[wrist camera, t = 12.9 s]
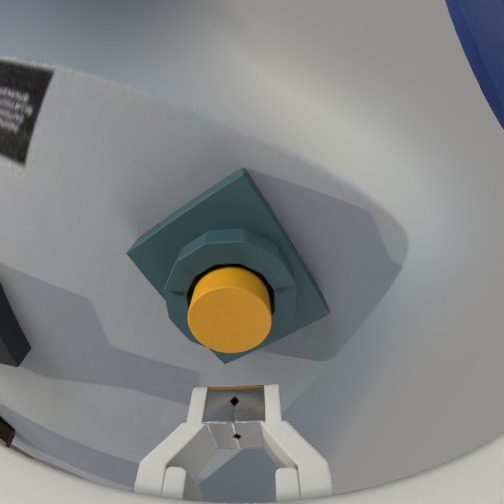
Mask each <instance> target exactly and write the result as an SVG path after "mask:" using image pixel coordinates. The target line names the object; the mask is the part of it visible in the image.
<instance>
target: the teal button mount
mask: <svg viewBox="0 0 504 504" xmlns="http://www.w3.org/2000/svg"><path fill="white" fill-rule="evenodd" d="M127 255H128V256H129V257H130V258H131V260H132V261H133V262H134V263H135V265H136V266H137V267H138V268H139V270H140V271H141V272H142V273H143V274H144V276H145V277H146V278H147V279H148V280H149V282H150V283H151V284H152V285H153V286H154V288H155V289H156V290H157V291H158V292H159V294H160V295H161V296H162V297H163V298H164V299H165V300H166V305H167V309H168V314H169V318H170V320H171V321H172V322H173V323H174V324H175V325H176V326H177V327H178V328H179V329H180V330H181V332H182V333H183V334H184V335H185V336H186V337H187V338H188V339H189V340H191V341H192V342H195V343H197V344H200V345H202V346H204V345H203V344H202V343H200V342H199V341H198V340H197V339H196V338H195V337H194V335H193V334H192V332H191V330H190V328H189V325H188V311H189V307H190V303H191V300H192V296H193V292H194V289H195V286H196V284H197V283H198V281H199V280H200V279H201V278H202V277H203V276H204V275H205V274H207V273H208V272H210V271H212V270H214V269H217V268H221V267H239V268H243V269H246V270H248V271H250V272H252V273H254V274H255V275H257V276H258V277H259V278H260V279H261V280H262V281H263V283H264V284H265V286H266V288H267V290H268V294H269V301H270V308H271V315H272V325H271V329H270V331H269V333H268V335H267V337H266V338H265V339H264V340H263V341H262V342H261V343H260V344H259V345H257V346H256V347H254V348H252V349H250V350H247V351H244V352H239V353H224V352H219V351H215V350H212V349H210V348H209V349H210V350H211V351H212V352H213V353H214V354H215V355H216V356H217V357H218V358H219V359H220V360H221V361H222V362H223V363H224V364H226V363H228V362H231V361H233V360H235V359H237V358H240V357H242V356H244V355H246V354H248V353H251V352H253V351H255V350H257V349H259V348H261V347H263V346H266V345H268V344H270V343H272V342H274V341H276V340H278V339H280V338H282V337H284V336H286V335H288V334H290V333H292V332H294V331H296V330H298V329H300V328H302V327H304V326H306V325H308V324H310V323H312V322H314V321H316V320H318V319H319V318H321V317H323V316H325V315H327V314H329V313H330V311H329V309H328V306H327V304H326V302H325V299H324V297H323V294H322V293H321V291H320V289H319V288H318V286H317V284H316V283H315V281H314V279H313V278H312V276H311V274H310V272H309V271H308V269H307V267H306V266H305V264H304V262H303V261H302V259H301V257H300V256H299V254H298V253H297V251H296V249H295V248H294V246H293V244H292V243H291V241H290V239H289V238H288V236H287V235H286V233H285V231H284V230H283V228H282V226H281V225H280V223H279V222H278V220H277V218H276V217H275V215H274V214H273V212H272V210H271V209H270V207H269V206H268V204H267V203H266V201H265V199H264V198H263V196H262V195H261V193H260V192H259V190H258V188H257V187H256V185H255V184H254V182H253V181H252V179H251V178H250V176H249V174H248V173H247V171H246V170H245V168H242V169H240V170H239V171H237V172H235V173H234V174H232V175H231V176H229V177H227V178H226V179H224V180H223V181H221V182H220V183H218V184H217V185H215V186H213V187H212V188H210V189H209V190H207V191H206V192H204V193H203V194H201V195H200V196H198V197H197V198H195V199H194V200H192V201H191V202H189V203H188V204H186V205H185V206H183V207H182V208H180V209H179V210H178V211H176V212H175V213H173V214H172V215H170V216H169V217H168V218H166V219H165V220H163V221H162V222H160V223H159V224H158V225H156V226H155V227H153V228H152V229H151V230H149V231H148V232H146V233H145V234H144V235H142V236H141V237H140V238H138V239H137V241H136V242H135V243H134V244H133V245H132V246H131V248H130V249H129V250H128V251H127ZM205 347H206V346H205ZM207 348H208V347H207Z"/></svg>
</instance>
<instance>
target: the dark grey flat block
mask: <svg viewBox="0 0 504 504" xmlns="http://www.w3.org/2000/svg"><path fill="white" fill-rule="evenodd" d="M30 349H31V347H30V345H29V343H28V342H27V340H26V338H25V336H24V334H23V332H22V330H21V328H20V326H19V324H18V322H17V320H16V318H15V316H14V314H13V312H12V310H11V307H10V305H9V303H8V301H7V298H6V296H5V294H4V291H3V289H2V286H1V284H0V363H2V364H6V365H10V366H15V367H19V365H20V364H21V362H22V361H23V359H24V358H25V356H26V355H27V354H28V352H29V351H30Z"/></svg>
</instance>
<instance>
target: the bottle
mask: <svg viewBox="0 0 504 504" xmlns="http://www.w3.org/2000/svg"><path fill="white" fill-rule="evenodd" d="M14 435H15V430H14V429H13V428H12V427H10V426H9V425H8V424H7V423H6V422H5V421H4V420H3V419H1V418H0V444H2V445H4V446H6V447H8V448H9V447H10V445H11V443H12V440H13V438H14Z"/></svg>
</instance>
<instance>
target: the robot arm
mask: <svg viewBox="0 0 504 504" xmlns="http://www.w3.org/2000/svg"><path fill="white" fill-rule="evenodd" d="M234 448H264V450H265V451H266V452H267V454H268V455H269V456H270V457H271V459H272V460H273V461H274V463H275V464H276V465H277V466H278V468H279V469H278V470H277V471H276V502H262V503H220V502H203V501H202V500H203V499H202V498H203V494H202V492H201V491H200V489H199V488H198V487H197V485H196V484H195V483H194V481H193V480H194V478H195V477H196V476H197V475H198V473H199V472H200V471H201V470H202V469H203V467H204V466H205V465H206V463H207V462H208V461H209V460H210V458H211V457H212V456H213V455H214V453H215V452H216V451H217V449H234ZM0 504H504V433H503V434H501V435H499V436H497V437H496V438H494V439H492V440H490V441H489V442H487V443H485V444H483V445H481V446H479V447H477V448H475V449H473V450H471V451H469V452H467V453H465V454H463V455H461V456H458V457H456V458H454V459H452V460H450V461H447V462H445V463H442V464H440V465H438V466H435V467H433V468H430V469H427V470H425V471H422V472H419V473H416V474H413V475H410V476H408V477H404V478H401V479H398V480H395V481H391V482H388V483H384V484H381V485H377V486H373V487H369V488H365V489H361V490H356V491H352V492H347V493H342V494H336V495H333V489H332V483H331V477H330V471H329V465H328V461H326V459H324V458H323V457H322V456H321V455H320V454H319V453H318V452H317V451H316V450H315V449H314V448H313V447H312V446H311V445H310V444H309V443H308V442H307V441H306V440H305V439H304V438H303V437H302V436H301V435H300V434H299V433H298V432H297V431H296V430H295V429H294V428H293V427H292V426H291V425H290V424H289V423H288V422H287V421H282V412H281V400H280V389H279V384H274V385H257V386H241V387H194V389H193V391H192V397H191V402H190V407H189V412H188V418H187V423H182V424H181V425H180V426H179V427H177V428H176V429H175V430H174V431H173V432H172V433H171V434H170V435H169V436H168V437H167V438H166V439H165V440H164V441H163V442H161V443H160V444H159V445H158V446H157V447H156V448H155V449H154V450H153V451H152V452H150V453H149V454H148V455H147V456H146V457H145V458H144V459H143V460H141V462H140V466H139V469H138V473H137V477H136V481H135V485H134V489H133V492H132V491H127V490H123V489H119V488H114V487H111V486H107V485H103V484H99V483H96V482H92V481H89V480H86V479H83V478H80V477H77V476H74V475H71V474H68V473H65V472H62V471H59V470H57V469H54V468H52V467H49V466H47V465H44V464H42V463H39V462H37V461H35V460H33V459H31V458H28V457H26V456H24V455H22V454H20V453H18V452H16V451H14V450H12V449H10V448H8V447H6V446H4V445H2V444H0Z"/></svg>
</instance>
